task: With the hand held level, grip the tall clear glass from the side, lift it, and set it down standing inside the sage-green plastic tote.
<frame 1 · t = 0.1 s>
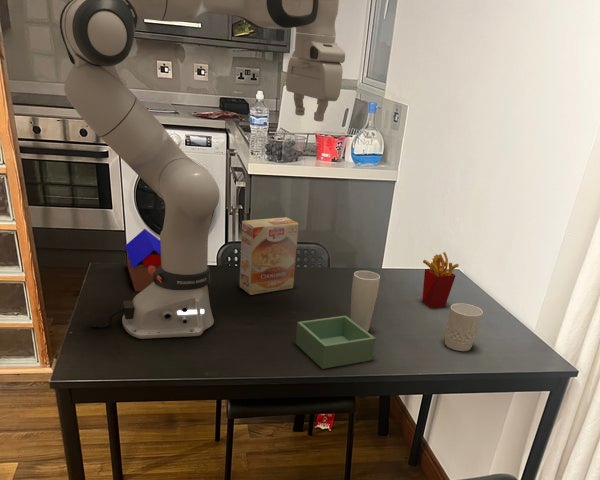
hand: (308, 118, 141), 48 cm above the table, tool pointing down, fingers open, 8 cm apart
house: (151, 278, 176), on the table
french fries: (429, 303, 177), on the table
coffeecake box: (266, 288, 177), on the table
tote: (333, 351, 144), on the table
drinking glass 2: (358, 330, 157), on the table
white cup: (457, 346, 153), on the table
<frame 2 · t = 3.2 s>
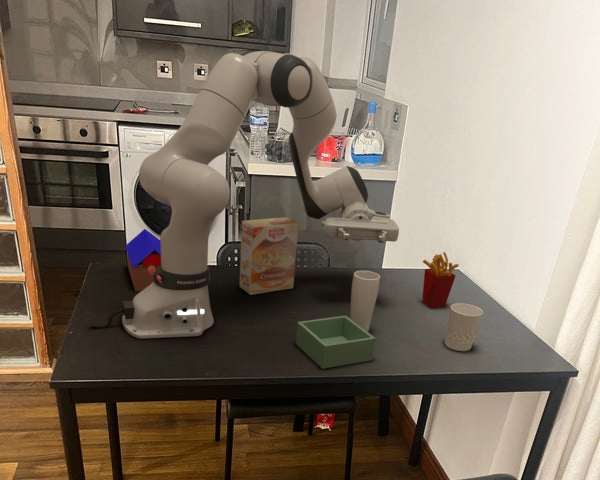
hand: (364, 238, 156), 21 cm above the table, tool horizontal, fingers open, 8 cm apart
nothing on the table moved.
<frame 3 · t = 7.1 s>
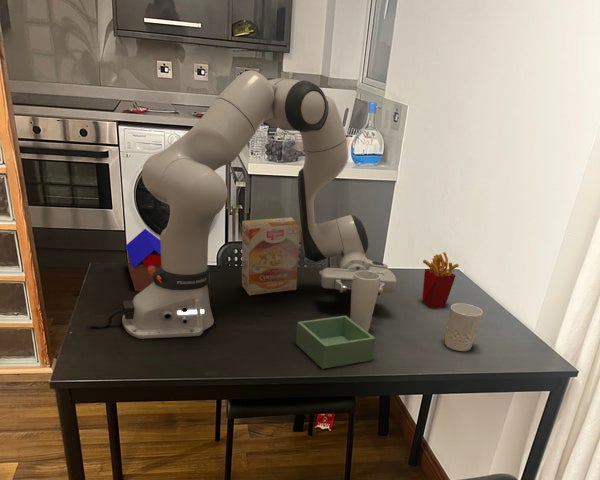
hand: (361, 291, 156), 9 cm above the table, tool horizontal, fingers open, 8 cm apart
coffeecake box: (269, 288, 176), on the table, touching arm
everything else where it was.
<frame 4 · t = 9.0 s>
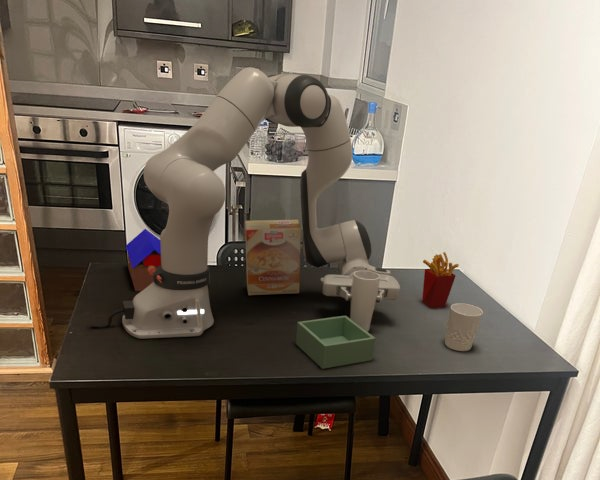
hand: (364, 298, 151), 9 cm above the table, tool horizontal, fingers closed on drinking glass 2, 6 cm apart
coffeecake box: (273, 290, 174), point 1 cm above the table, touching arm
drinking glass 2: (358, 330, 157), on the table, touching gripper
everything else where it was.
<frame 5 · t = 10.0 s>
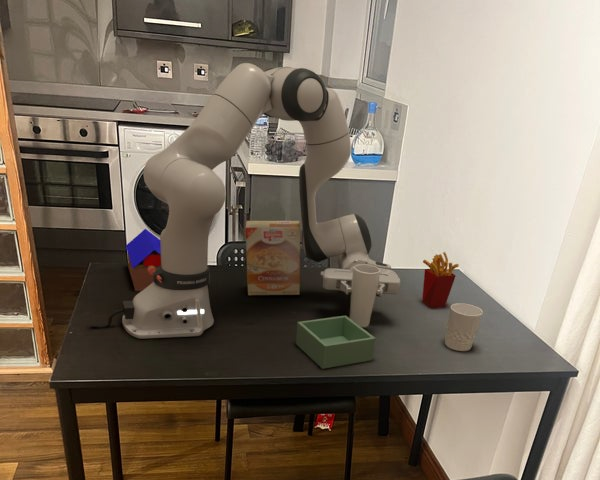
hand: (364, 292, 150), 11 cm above the table, tool horizontal, fingers closed on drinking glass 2, 6 cm apart
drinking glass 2: (358, 324, 156), point 1 cm above the table, touching gripper
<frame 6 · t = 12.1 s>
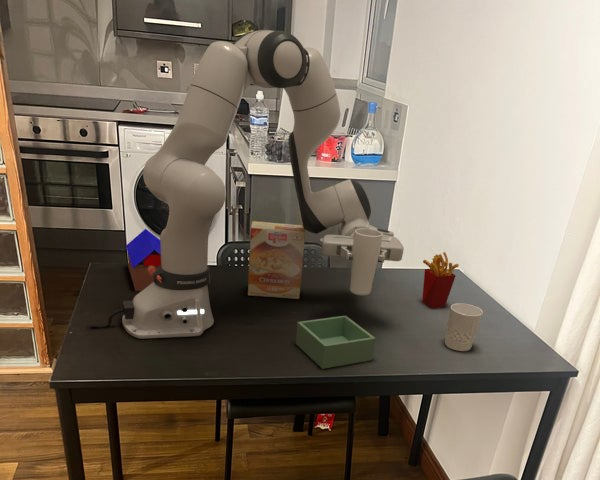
hand: (365, 258, 143), 20 cm above the table, tool horizontal, fingers closed on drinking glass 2, 6 cm apart
coffeecake box: (274, 293, 174), on the table
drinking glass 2: (359, 293, 149), point 11 cm above the table, touching gripper
everything else where it was.
when the fingers open (10 cm above the table, at t = 17.9 s): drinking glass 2 stays where it is, resting on tote.
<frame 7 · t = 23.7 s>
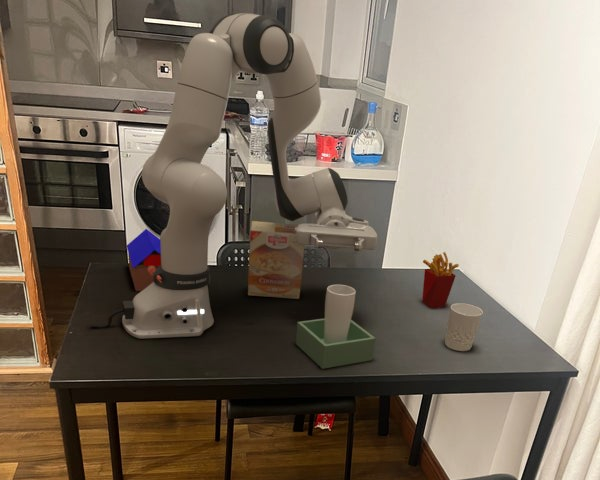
hand: (338, 246, 143), 22 cm above the table, tool horizontal, fingers open, 8 cm apart
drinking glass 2: (333, 349, 144), point 1 cm above the table, touching tote
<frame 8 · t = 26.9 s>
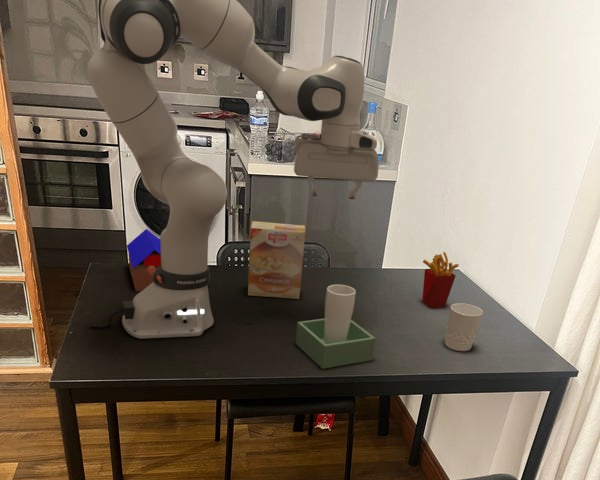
hand: (332, 197, 147), 31 cm above the table, tool pointing down, fingers open, 8 cm apart
at the end: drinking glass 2 inside the target area in the tote (0.1 cm from its centre), point 0.6 cm above the tote's base; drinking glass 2 tilted 0°; the gripper is holding nothing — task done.
